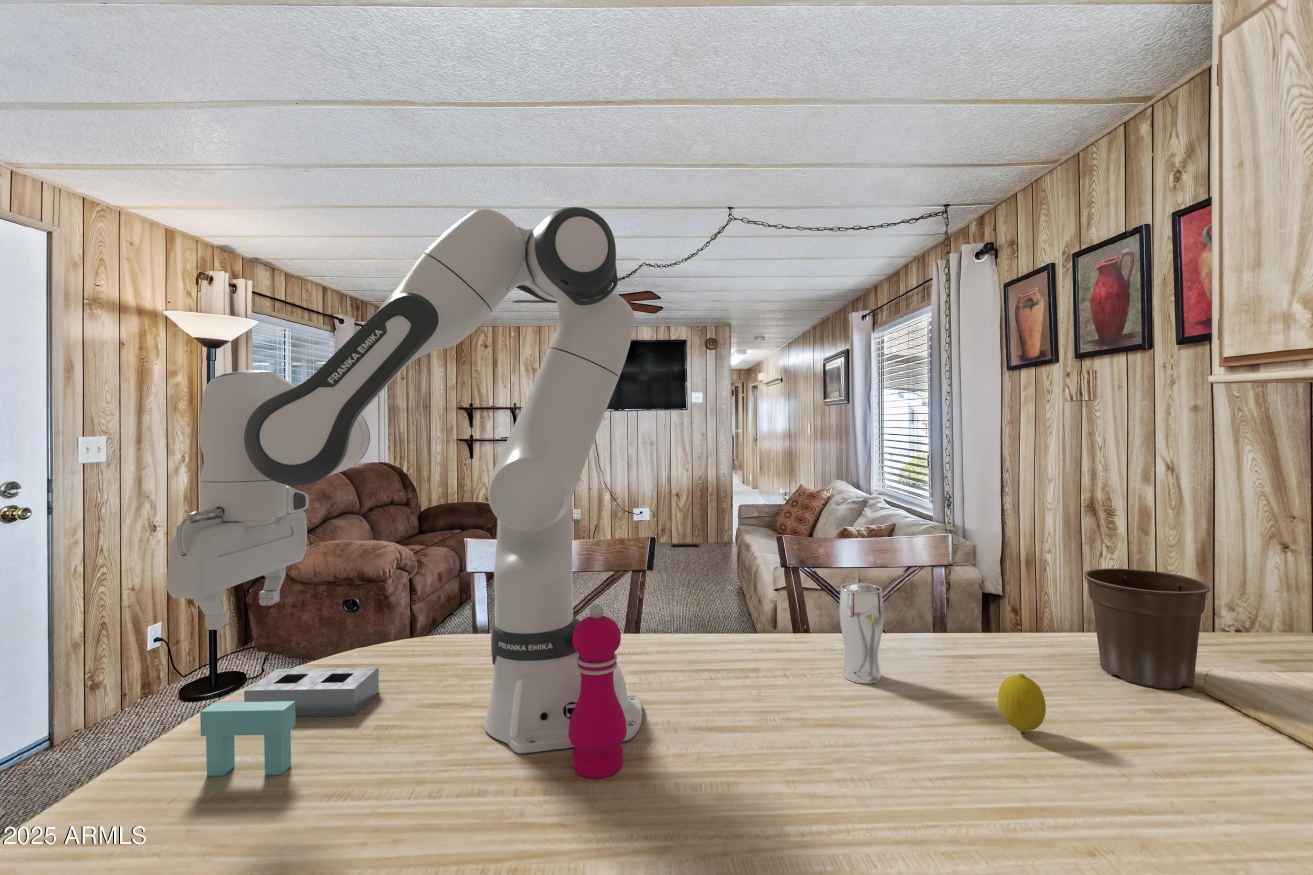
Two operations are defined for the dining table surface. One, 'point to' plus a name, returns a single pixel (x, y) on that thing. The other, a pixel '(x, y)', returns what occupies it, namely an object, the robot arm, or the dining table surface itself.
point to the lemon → (1021, 702)
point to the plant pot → (1147, 624)
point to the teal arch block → (248, 733)
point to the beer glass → (861, 631)
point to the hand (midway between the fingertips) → (245, 615)
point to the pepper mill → (597, 698)
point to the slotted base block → (318, 690)
